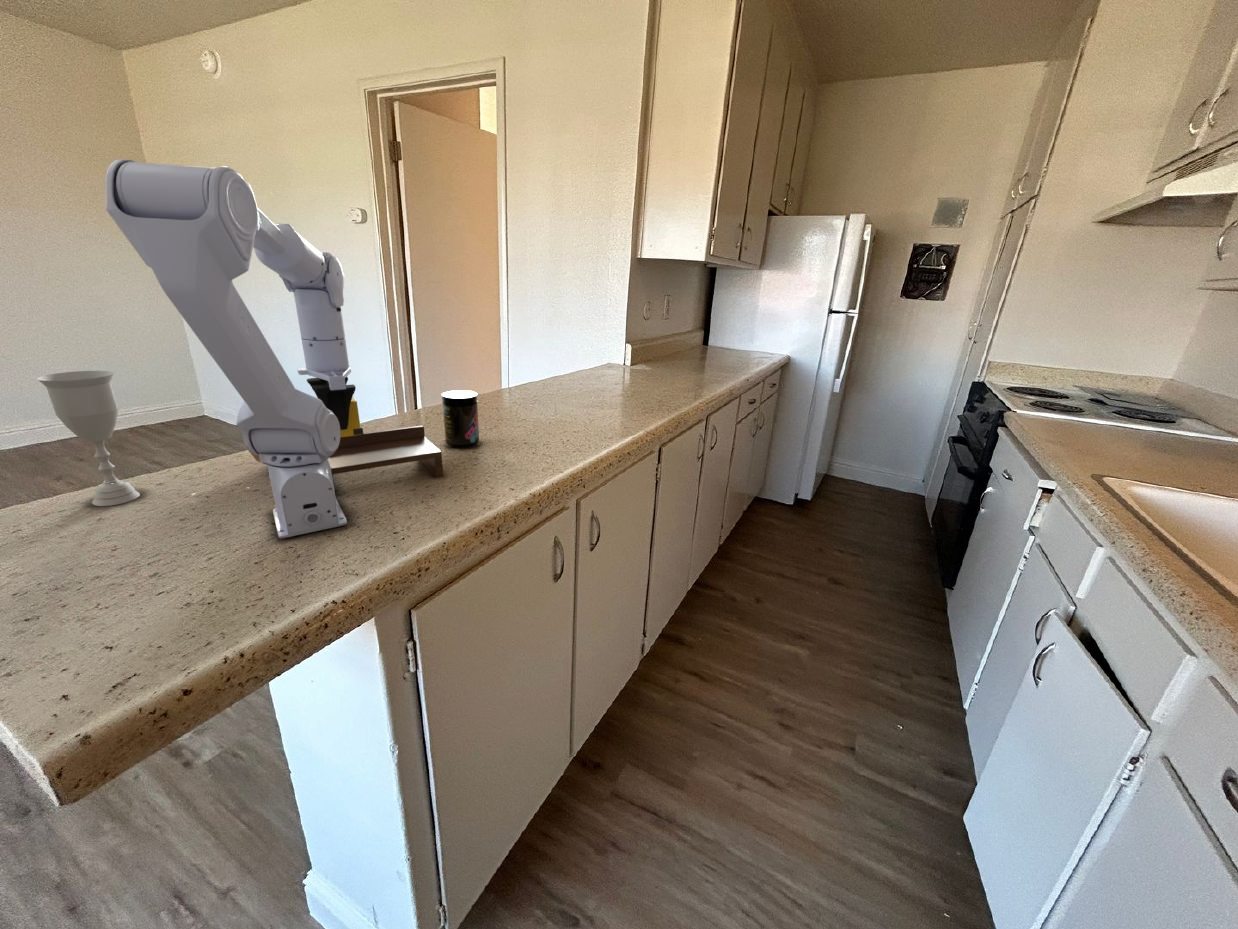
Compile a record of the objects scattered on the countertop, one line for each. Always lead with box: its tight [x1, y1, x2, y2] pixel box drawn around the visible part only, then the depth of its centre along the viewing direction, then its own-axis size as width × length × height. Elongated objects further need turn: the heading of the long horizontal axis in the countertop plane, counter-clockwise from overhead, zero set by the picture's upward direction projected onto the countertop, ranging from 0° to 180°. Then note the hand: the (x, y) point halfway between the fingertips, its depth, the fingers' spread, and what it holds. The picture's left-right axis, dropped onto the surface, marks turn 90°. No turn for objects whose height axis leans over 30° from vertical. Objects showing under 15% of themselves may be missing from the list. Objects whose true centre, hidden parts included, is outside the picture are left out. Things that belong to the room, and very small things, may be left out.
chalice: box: [36, 370, 141, 507], centre depth 71 cm, size 7×7×18 cm
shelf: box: [329, 425, 444, 478], centre depth 86 cm, size 10×18×6 cm, turn 126°
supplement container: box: [441, 390, 480, 449], centre depth 103 cm, size 7×7×10 cm
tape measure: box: [340, 396, 364, 437], centre depth 80 cm, size 4×6×6 cm, turn 127°
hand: (337, 425), depth 81 cm, fingers closed on tape measure, 4 cm apart
